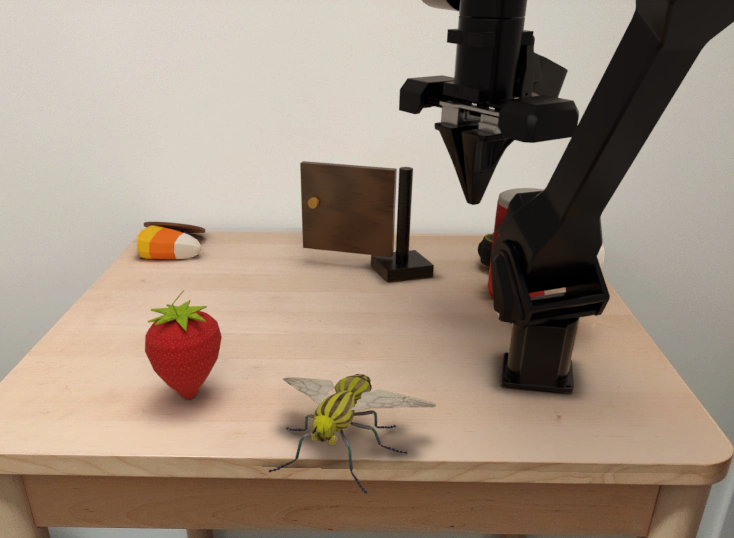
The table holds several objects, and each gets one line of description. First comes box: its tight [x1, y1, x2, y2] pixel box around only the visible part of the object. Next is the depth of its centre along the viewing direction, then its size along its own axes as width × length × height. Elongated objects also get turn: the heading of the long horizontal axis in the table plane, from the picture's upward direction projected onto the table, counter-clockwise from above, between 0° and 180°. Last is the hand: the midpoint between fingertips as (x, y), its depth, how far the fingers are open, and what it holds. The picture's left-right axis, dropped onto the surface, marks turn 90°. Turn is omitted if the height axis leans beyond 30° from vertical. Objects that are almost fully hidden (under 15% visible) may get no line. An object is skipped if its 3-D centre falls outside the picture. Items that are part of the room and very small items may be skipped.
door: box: [299, 160, 398, 257], centre depth 90 cm, size 12×2×10 cm, turn 74°
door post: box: [370, 166, 435, 283], centre depth 89 cm, size 6×6×12 cm
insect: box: [268, 373, 437, 495], centre depth 59 cm, size 13×11×5 cm
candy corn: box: [136, 226, 202, 260], centre depth 96 cm, size 6×3×8 cm
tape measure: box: [477, 231, 494, 269], centre depth 93 cm, size 7×7×4 cm
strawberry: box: [144, 290, 223, 400], centre depth 63 cm, size 6×8×10 cm
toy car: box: [143, 221, 206, 235], centre depth 101 cm, size 8×8×2 cm
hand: (473, 203), depth 74 cm, fingers closed
